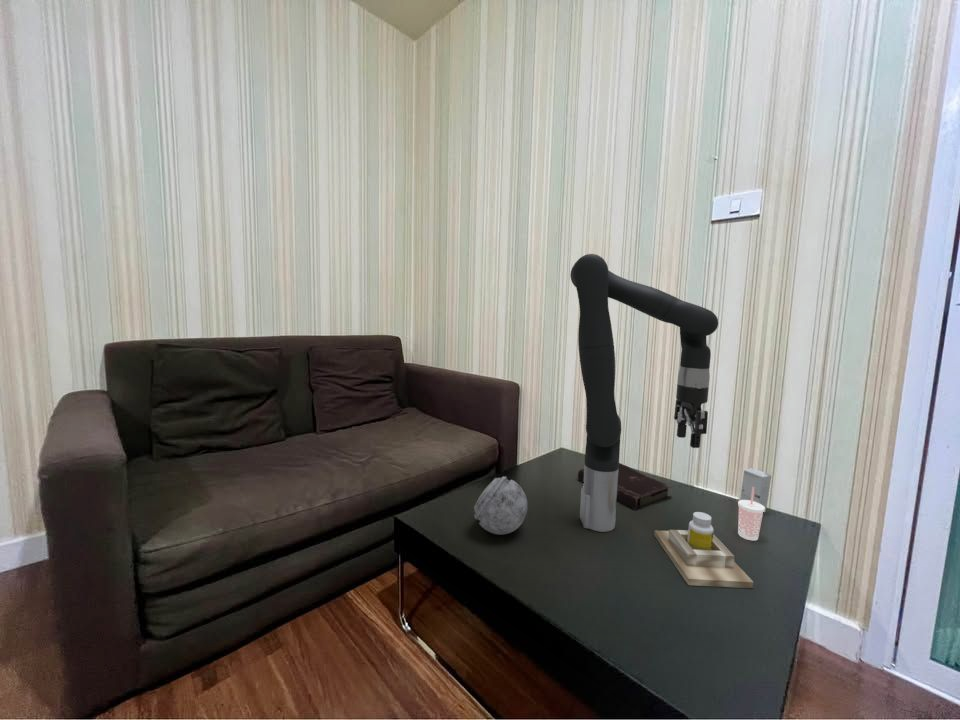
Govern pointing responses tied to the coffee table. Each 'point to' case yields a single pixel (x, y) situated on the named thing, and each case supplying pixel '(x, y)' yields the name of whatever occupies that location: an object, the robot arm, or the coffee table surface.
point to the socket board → (704, 571)
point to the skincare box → (756, 486)
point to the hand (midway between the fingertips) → (687, 442)
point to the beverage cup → (750, 518)
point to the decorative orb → (501, 506)
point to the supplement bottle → (700, 532)
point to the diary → (637, 488)
